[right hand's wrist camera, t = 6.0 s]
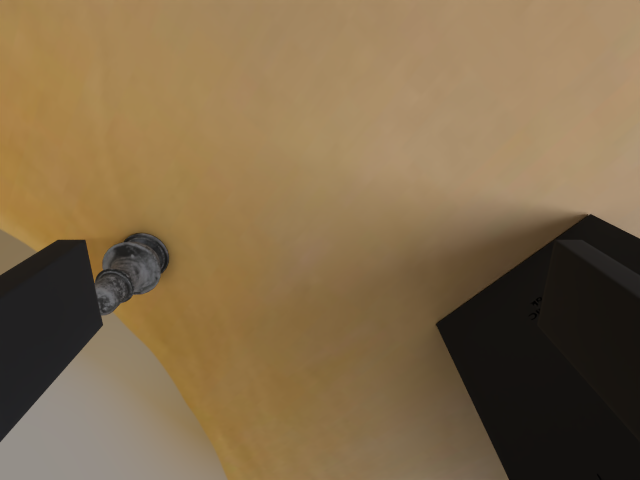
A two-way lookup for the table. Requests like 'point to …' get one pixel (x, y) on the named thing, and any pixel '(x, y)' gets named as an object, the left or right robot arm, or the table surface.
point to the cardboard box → (540, 375)
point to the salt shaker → (130, 270)
